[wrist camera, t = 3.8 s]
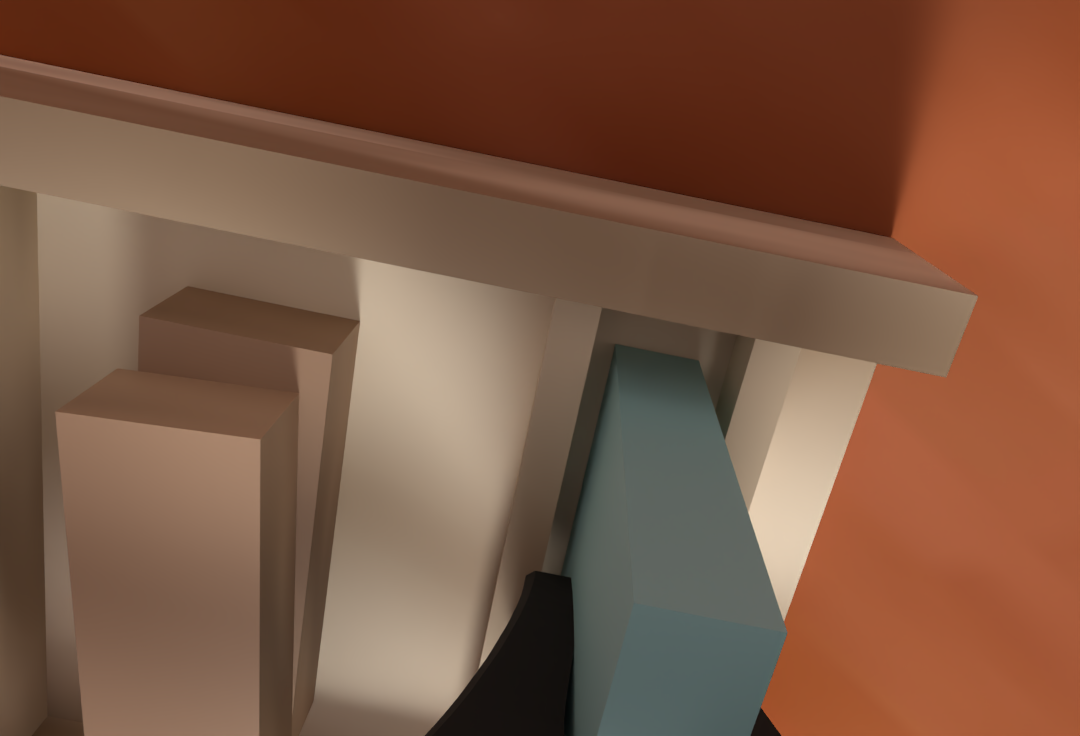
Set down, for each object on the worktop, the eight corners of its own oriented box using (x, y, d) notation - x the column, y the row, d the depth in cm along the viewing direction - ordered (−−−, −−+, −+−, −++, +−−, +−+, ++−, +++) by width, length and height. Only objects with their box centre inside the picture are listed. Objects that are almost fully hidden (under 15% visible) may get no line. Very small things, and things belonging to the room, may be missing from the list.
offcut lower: (313, 700, 15) (286, 764, 14) (170, 673, 15) (129, 733, 14) (360, 321, 12) (332, 354, 11) (187, 286, 12) (139, 315, 11)
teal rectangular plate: (582, 781, 15) (576, 1217, 10) (515, 768, 15) (468, 1199, 10) (698, 360, 12) (786, 633, 7) (615, 343, 12) (634, 602, 7)
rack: (684, 835, 17) (705, 1021, 14) (-132, 676, 17) (-304, 827, 13) (891, 238, 12) (993, 306, 9) (-210, 11, 12) (-490, 3, 9)
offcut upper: (291, 766, 14) (259, 843, 12) (140, 744, 14) (92, 819, 12) (299, 392, 11) (261, 439, 10) (117, 368, 11) (55, 411, 10)
